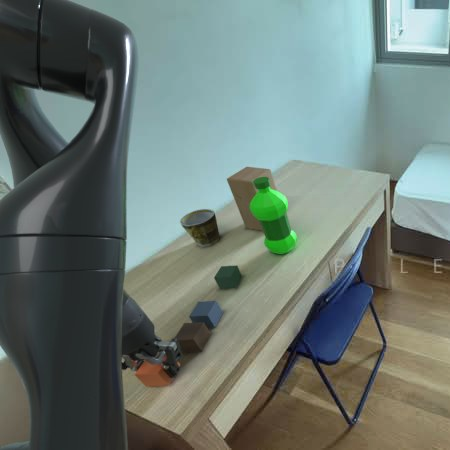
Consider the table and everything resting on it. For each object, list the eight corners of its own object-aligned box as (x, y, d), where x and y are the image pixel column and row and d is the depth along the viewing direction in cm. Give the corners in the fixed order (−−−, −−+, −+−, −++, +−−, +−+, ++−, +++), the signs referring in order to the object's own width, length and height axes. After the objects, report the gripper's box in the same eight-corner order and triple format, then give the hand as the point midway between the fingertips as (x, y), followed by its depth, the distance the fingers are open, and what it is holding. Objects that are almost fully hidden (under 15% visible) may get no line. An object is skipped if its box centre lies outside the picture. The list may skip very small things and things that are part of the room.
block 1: (168, 385, 63) (157, 373, 61) (146, 387, 63) (134, 374, 60) (180, 364, 67) (171, 352, 64) (159, 365, 67) (149, 353, 64)
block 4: (236, 288, 87) (230, 276, 84) (220, 289, 87) (213, 277, 84) (242, 277, 90) (237, 265, 88) (227, 277, 90) (221, 266, 88)
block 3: (202, 351, 71) (193, 339, 68) (182, 352, 71) (172, 340, 68) (211, 334, 74) (203, 322, 72) (192, 335, 74) (184, 323, 72)
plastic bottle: (276, 238, 105) (253, 171, 91) (305, 240, 104) (286, 173, 89) (260, 257, 97) (233, 187, 83) (291, 260, 96) (269, 189, 81)
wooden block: (245, 228, 111) (225, 178, 99) (263, 214, 119) (246, 165, 107) (269, 232, 108) (251, 181, 97) (285, 217, 116) (270, 168, 105)
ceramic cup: (197, 235, 109) (185, 211, 103) (227, 230, 111) (217, 206, 105) (186, 258, 98) (172, 233, 92) (220, 252, 100) (208, 227, 94)
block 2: (215, 327, 76) (207, 315, 73) (196, 328, 76) (188, 316, 73) (223, 312, 80) (216, 300, 77) (205, 313, 80) (198, 301, 77)
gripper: (170, 304, 58) (205, 356, 68) (94, 308, 58) (140, 360, 68) (145, 338, 52) (188, 390, 62) (59, 343, 52) (116, 395, 62)
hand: (163, 374), depth 65 cm, fingers closed on block 1, 4 cm apart
